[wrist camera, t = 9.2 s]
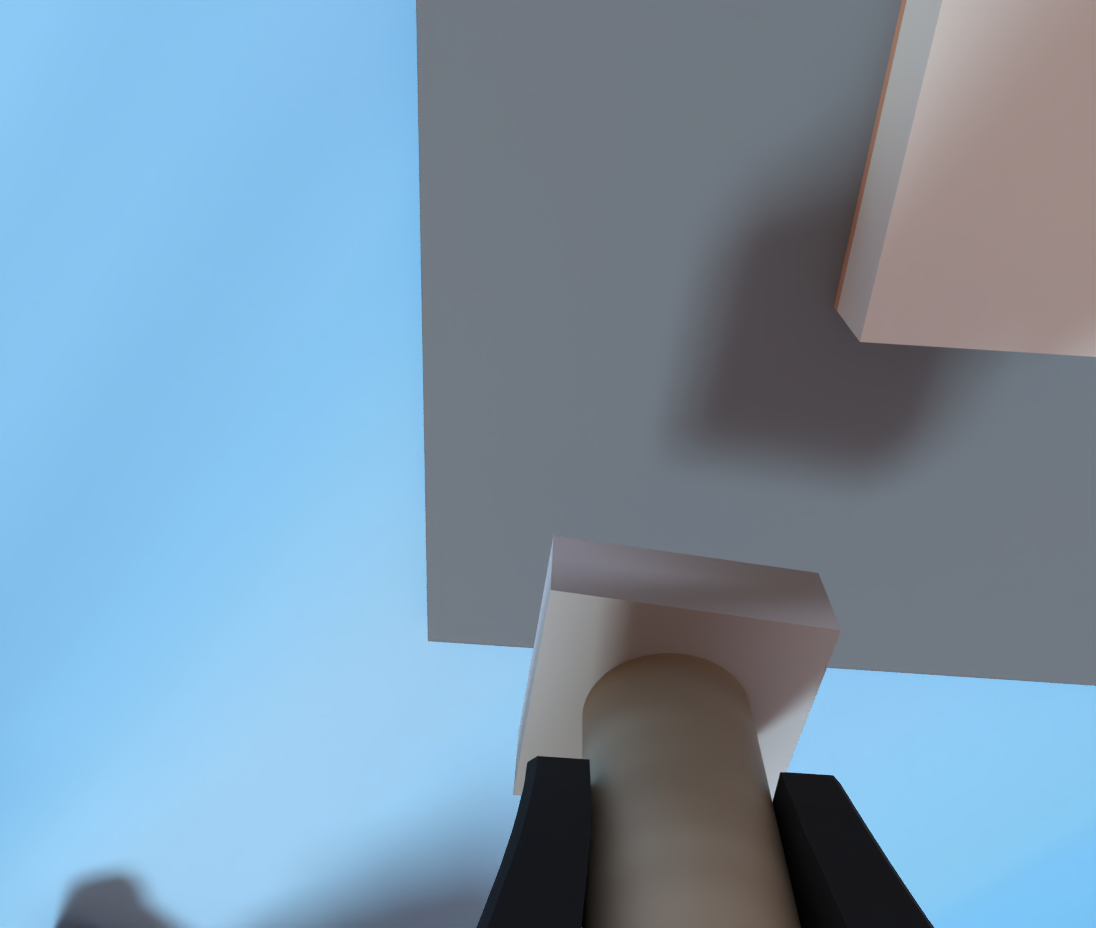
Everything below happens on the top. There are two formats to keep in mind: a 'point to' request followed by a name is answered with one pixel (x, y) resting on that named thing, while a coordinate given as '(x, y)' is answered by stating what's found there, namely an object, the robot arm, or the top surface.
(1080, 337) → the tile
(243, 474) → the top surface
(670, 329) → the mat
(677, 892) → the tamper
